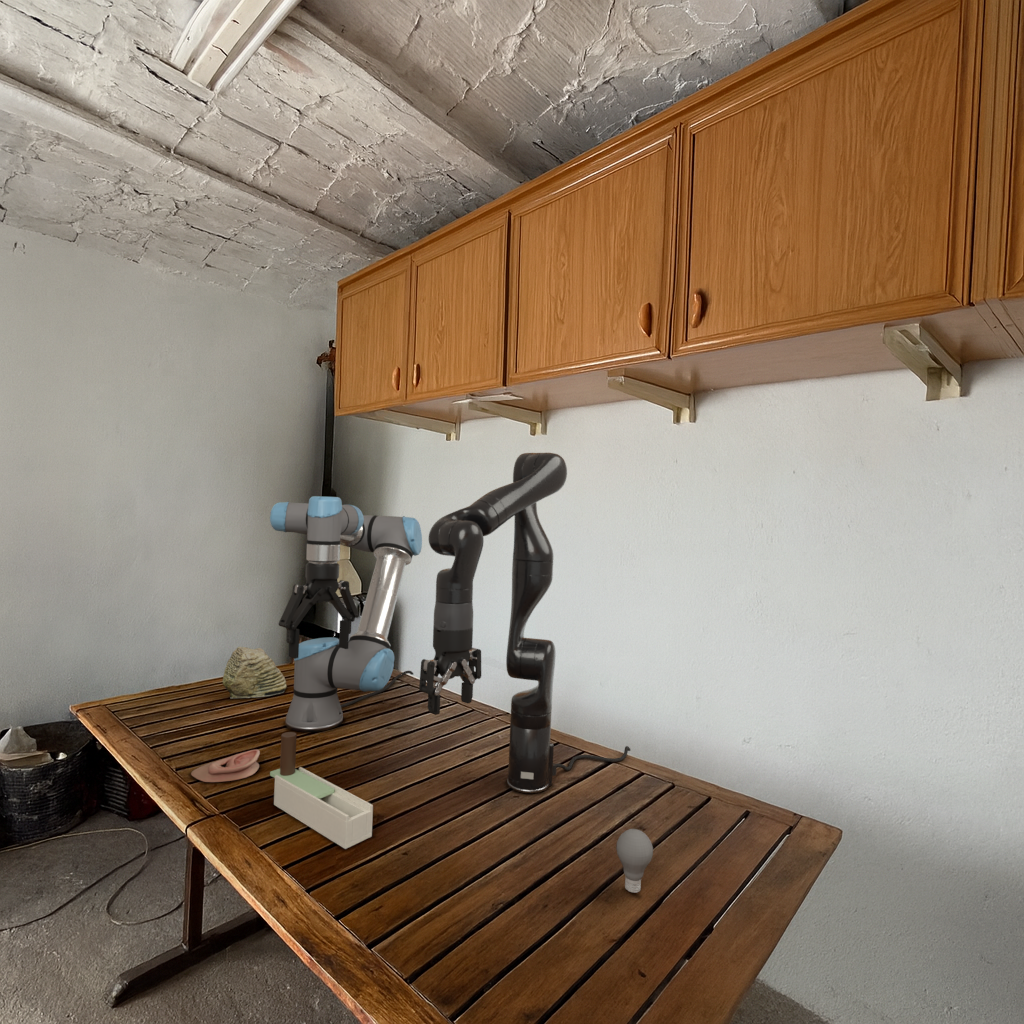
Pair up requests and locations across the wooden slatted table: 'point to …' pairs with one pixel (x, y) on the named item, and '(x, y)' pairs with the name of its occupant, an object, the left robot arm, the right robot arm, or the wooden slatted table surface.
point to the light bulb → (634, 857)
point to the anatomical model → (229, 768)
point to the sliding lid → (294, 775)
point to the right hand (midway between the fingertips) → (450, 707)
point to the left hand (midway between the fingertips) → (319, 652)
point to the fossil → (252, 674)
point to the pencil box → (327, 811)
